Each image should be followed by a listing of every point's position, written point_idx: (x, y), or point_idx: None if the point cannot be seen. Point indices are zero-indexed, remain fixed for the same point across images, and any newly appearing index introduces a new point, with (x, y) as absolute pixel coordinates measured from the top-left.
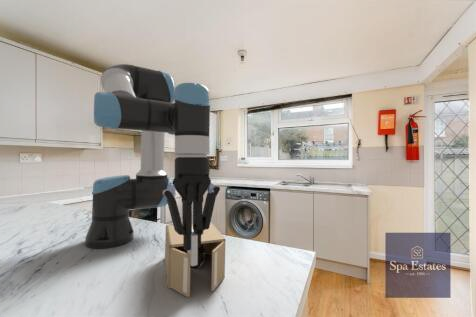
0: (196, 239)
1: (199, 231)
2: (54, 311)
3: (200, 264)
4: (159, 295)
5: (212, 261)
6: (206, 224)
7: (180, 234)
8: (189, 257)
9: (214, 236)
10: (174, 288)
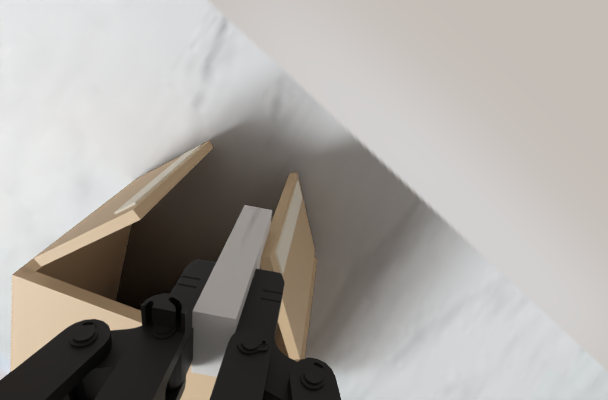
0: (210, 291)
1: (167, 325)
2: (580, 351)
3: (169, 291)
4: (355, 242)
5: (165, 191)
6: (75, 356)
7: (318, 362)
8: (267, 250)
9: (58, 327)
10: (310, 234)
